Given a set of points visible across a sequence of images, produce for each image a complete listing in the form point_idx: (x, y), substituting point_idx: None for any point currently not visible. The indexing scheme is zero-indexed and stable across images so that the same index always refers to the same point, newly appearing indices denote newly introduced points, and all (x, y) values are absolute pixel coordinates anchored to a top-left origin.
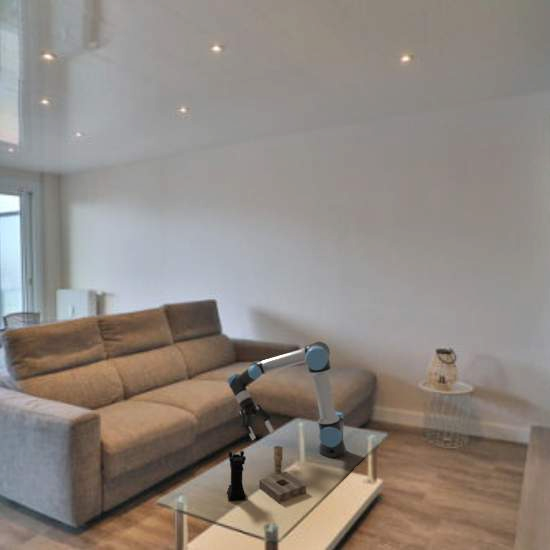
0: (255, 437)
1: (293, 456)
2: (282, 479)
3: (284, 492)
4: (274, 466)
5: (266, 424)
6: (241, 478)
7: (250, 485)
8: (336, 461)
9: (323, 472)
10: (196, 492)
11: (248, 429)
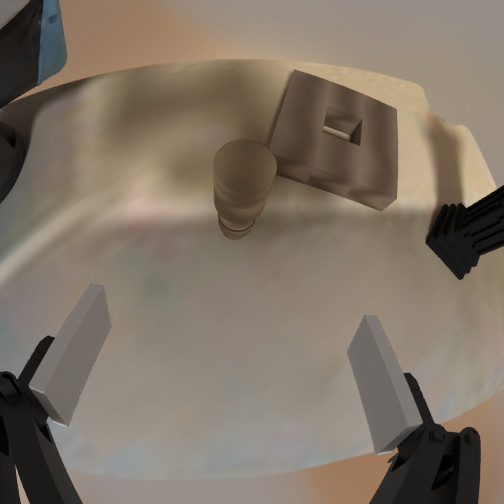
0: (368, 315)
1: (64, 262)
2: (328, 134)
3: (377, 101)
4: (248, 230)
5: (73, 395)
6: (491, 196)
7: (390, 249)
8: (43, 124)
9: (131, 106)
10: (496, 345)
11: (419, 406)
